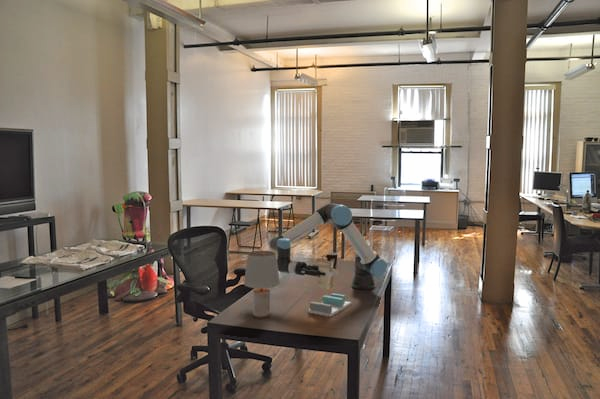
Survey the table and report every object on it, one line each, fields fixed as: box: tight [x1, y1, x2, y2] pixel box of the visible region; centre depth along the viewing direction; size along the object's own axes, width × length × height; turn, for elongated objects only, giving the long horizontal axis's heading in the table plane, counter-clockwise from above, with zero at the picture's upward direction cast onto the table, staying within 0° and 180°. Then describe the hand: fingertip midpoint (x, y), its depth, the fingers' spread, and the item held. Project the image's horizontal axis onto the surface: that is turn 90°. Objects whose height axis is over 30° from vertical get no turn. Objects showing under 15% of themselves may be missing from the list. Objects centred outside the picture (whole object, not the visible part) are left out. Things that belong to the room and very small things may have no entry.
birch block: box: [317, 260, 334, 290], centre depth 266 cm, size 6×6×14 cm
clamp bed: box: [307, 300, 352, 318], centre depth 272 cm, size 25×14×6 cm, turn 148°
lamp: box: [243, 250, 281, 319], centre depth 258 cm, size 19×19×34 cm
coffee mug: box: [321, 252, 339, 268], centre depth 372 cm, size 12×9×10 cm
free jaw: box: [322, 292, 346, 306], centre depth 278 cm, size 8×12×4 cm
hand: (334, 273), depth 264 cm, fingers closed on birch block, 6 cm apart
